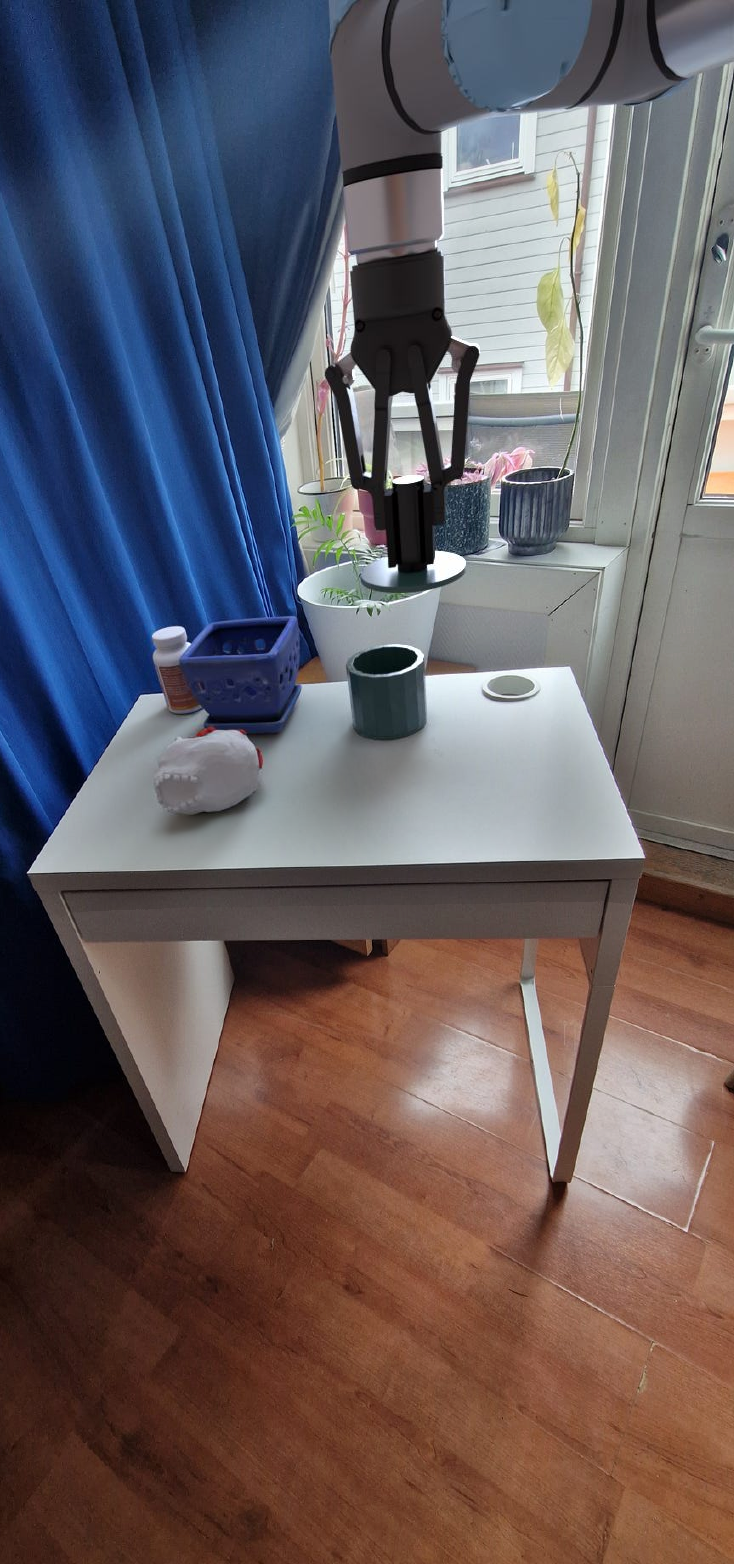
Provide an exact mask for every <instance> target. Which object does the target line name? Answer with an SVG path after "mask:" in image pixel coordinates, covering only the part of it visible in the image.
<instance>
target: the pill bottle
mask: <svg viewBox="0 0 734 1564" xmlns="http://www.w3.org/2000/svg"><path fill="white" fill-rule="evenodd" d="M151 639H152V642H153V646H154V648H156V649H155V650H154V652H153V653H152V660H153V664H154V668H155V671H156V675H157V678H158V681H159V683H160V684H159V685H160V688H161V691H162V694H163V697H164V701H165V704H166V707H167V708H168V710H169V712H171V713H174V714H179V715H180V714H189V713H194V712H197V711H199V710H200V709H203V708H202V706H201V705H200V704H199V702H198V701H197V700H196V698H195V697H194V695H193V693H192V692H191V690H190V688H189V686H188V684H187V682H186V679H185V677H184V675H183V673H182V670H181V667H180V664H179V659H180V657H181V656H182V654H183V653H184V652H185V651H186V649H187V648H188V647H189V646H190V645H191V643H190V642H188V641H187V640H188V636H187V632H186V629H185V628H184V627H183V626H178V625H175V626H167V627H164V628H161V629H158V630H156V631H154V632H153V633H152V635H151ZM198 684H199V687H200V690H201V691H202V688H201V686H200V683H199V682H198Z"/></svg>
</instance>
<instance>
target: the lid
mask: <svg viewBox="0 0 734 1564" xmlns="http://www.w3.org/2000/svg"><path fill="white" fill-rule="evenodd" d="M391 488H392V492H393V506H394V522H395V537H396V553H397V566H396V567H395V568H388V556H385V557H382V558H379V559H376V560H374V561H373V562H371V563H369V564H367V565H366V566H364V567H363V568H362V569H361V571H360V573H359V579H360V583H361V585H362V586H363V587H365V588H366V589H369V590H371V591H374V592H378V593H386V594H409V593H410V594H411V593H420V592H427V591H430V590H435V589H438V588H442V587H444V586H448V585H451V584H453V583H455V582H456V581H458V580H459V579H461V578H462V577H464V575H465V574H466V572H467V561H466V559H465V558H464V557H462V556H460V555H458V554H456V553H453V552H447V551H439V550H435V553H436V556H435V561H434V565H426V554H425V530H424V505H423V491H424V488H425V477H424V476H422V475H418V474H417V475H416V474H415V475H413V474H412V475H405V476H401V477H397V478H395V479H393V480H391Z"/></svg>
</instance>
